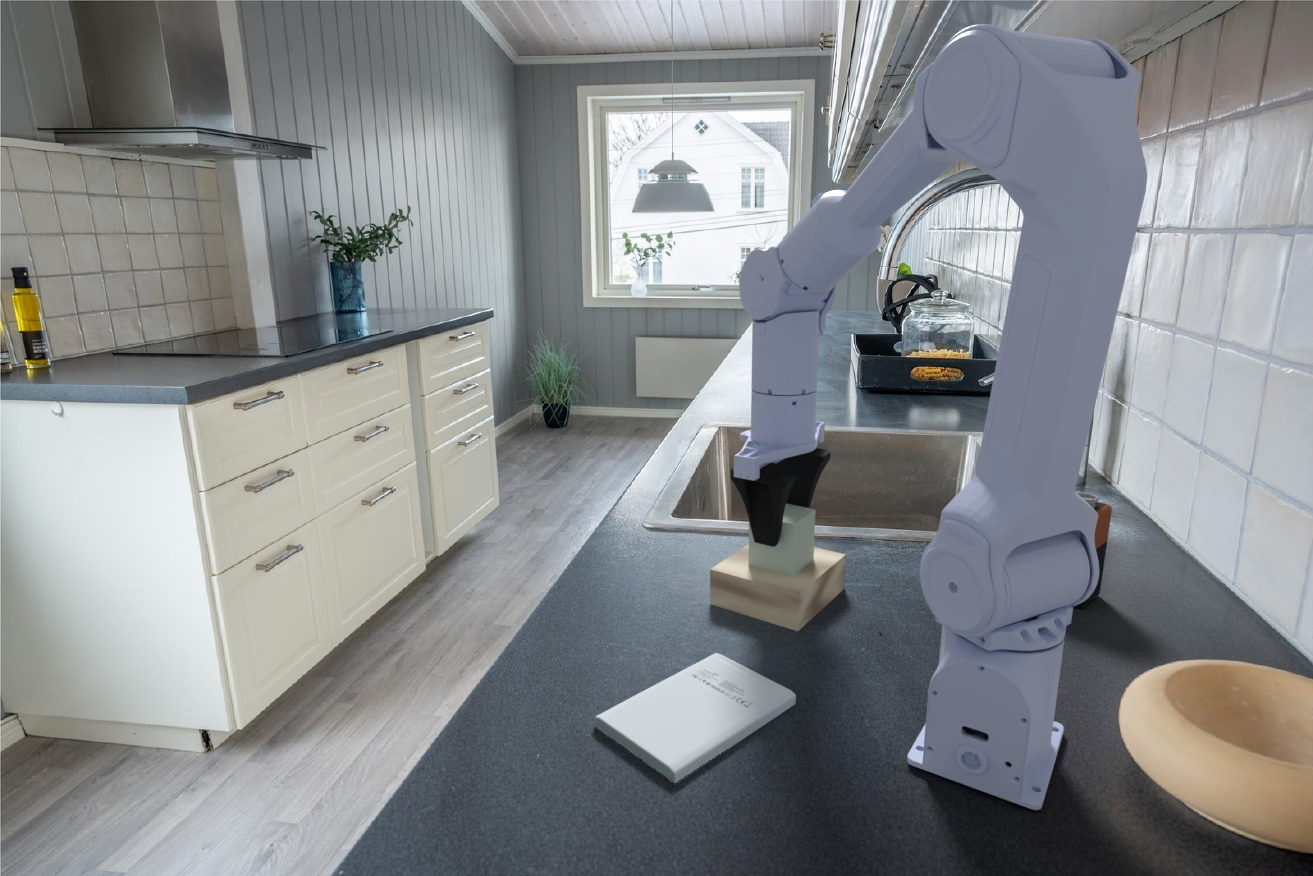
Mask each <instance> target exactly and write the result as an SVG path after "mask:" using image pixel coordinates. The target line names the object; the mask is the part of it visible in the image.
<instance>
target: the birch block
mask: <svg viewBox="0 0 1313 876" xmlns="http://www.w3.org/2000/svg"><path fill="white" fill-rule="evenodd" d="M846 556H847V554H845V553H842V552H837V551H833V550H828V549H824V548H820V547H816V546H814V559H813V560H812V561H811V562H810V563H808V564H807V565H806V566H805V567H804V568H802V569H801V570H800V571H799V572H797V573H796V574H795V575H794V576H793V577H792V576H789V575H785V574H781V573H777V572H773V571H769V570H765V569H761V568H758V567H754V566H750V565H748V561H749V543H748V544H747V545H744V547H742V548H740V549H739V550H737V551H736V552H734V553H733V554H731V555H730V556H729V557H727V558H725V559H723V560H722V561H720V562H719V563H717V564H716V565H714V566H713V567H711V568H710V571H709V576H710V577H709V600H710V601H709V604H710V605H712V606H716V607H719V608H721V609H724V610H727V611H731V612H735V613H738V614H740V615H743V616H747V617H751V618H754V619H757V620H760V621H764V622H767V623H769V624H773V625H777V626H779V627H783V628H785V629H790V630H793V631H795V632H799V631H800V630H801V629H802V628H804V626H806V625H807V624H808V623H809V622H810V621H811V620H812V619H813V618H814V617H815V616H817V615H818V614H819V613H820V612H821V611H822V610H823V609H824V608H825V607H827V605H829V604H830V603H831V602H832V601H833V600H834V599H835V598H836V597H837V596H838V595H840V593H842V592H843V591H844V590H845V582H846V581H845V580H846V579H845V578H846V562H847V561H846V560H847V557H846Z"/></svg>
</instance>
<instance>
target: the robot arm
mask: <svg viewBox="0 0 1313 876" xmlns="http://www.w3.org/2000/svg"><path fill="white" fill-rule="evenodd" d="M1141 80H1142V75H1141V73H1140V71H1138V70H1137V69H1136V68H1135V67H1134V66H1133V65H1132V64H1131V63H1130V62H1129V61H1128V60H1127V59H1126V58H1125V57H1123V56H1122V55H1121V54H1120V52H1118V50H1116V49H1115V48H1114V47H1113V46H1111V45H1110V44H1109V43H1108V42H1106V41H1103V40H1101V39H1097V38H1091V37H1078V38H1072V37H1064V36H1058V35H1057V36H1055V35H1049V34H1039V33H1033V32H1024V31H1017V30H1011V29H1005V28H1004V29H1003V28H1002V27H1001V26H998V25H994V24H989V23H979V24H973V25H970V26H968V27H965V28H963V29H961V30H959V32H957V33H955V34H954V35H953V36H952V37H951V38H950V39H948V41H947V42H946V43H945V44H944V46H943V47H942V48H941V49H940V51H939V52H938V53H937V55H936V57H935V59H934V61H933V62H932V63H930V65H928V66H927V67H925V68H924V70H922V72H921V73H919V75H918V76H917V78H916V81H915V84H914V92H913V100H912V101H913V102H912V108H911V109H910V111H908V113H907V114H906V116H904V118H903V119H902V121H901V122H900V123H898V126H897V127H896V128H895V129H894V131H893V132H892V134H891V135H890V136H889V137H888V138H887V140H885V142H884V143H883V144H882V145H881V146H880V149H879V150H878V151H877V152H876V153H875V155H874V156H873V157H872V158H871V159H870V161H869V162H868V163H867V165H866V166H865V168H864V169H863V170H862V171H861V172H860V173H859V174H858V176H857V177H856V179H855V180H854V181H853V182H852V184H851V185H850V186H849V187H848V189H847V190H846V189H845V190H844V189H833V190H829V191H828V192H820V193H818V194H817V195H816V196H815V197H814V198H813V200H811V207H810V209H808V211H807V212H806V213H805V214H804V215H803V216H802V217H801V219H800V220H799V221H798V222H797V223H796V224H795V225H794V226H793V227H792V228H791V229H790V230H789V231H788V232H787V233H785V235H784V236H783V237H782V239H781V240H780V242H779V243H778V244H777V245H775V246H769V248H768V249H767V248H756V249H754V250H752V251H750V252H749V254H748V256H747V258H746V259H745V260H744V262H743V264H742V267H741V270H740V275H739V281H738V285H739V287H738V291H739V296H740V301H741V305H742V307H743V309H744V311H745V312H746V314H747V315H748V316H749V317H750V318H751V319H752V320H751V321H752V324H751V325H752V326H751V327H752V332H751V333H752V337H751V341H752V342H751V387H750V388H751V400H750V402H751V403H750V429H748V430H745V431H743V432H740V433H739V441H740V442H742V443H743V442H744V445H743V446H742V447H741V450H740V451H739V452H737V453H736V454H734V455H733V466H731V467H730V480H731V481H732V483H733V484H734V486H735V487H736V489H737V491H738V493H739V495H740V498H741V499H742V501H743V504H744V507H745V510H746V514H747V517H748V518H747V519H748V523H749V522H750V526H751V530H752V534H753V538H754V542H755V543H759V544H763V545H768V546H772V547H775V546H776V545H777V544H778V542H779V539H780V535H781V529H782V522H783V515H784V509H785V505H786V504H791V505H796V506H801V507H806V508H811V505H812V501H813V496H814V493H815V490H816V487H817V485H818V482H819V480H820V478H821V475H822V474H823V472H824V470H825V468H826V466H827V464H829V461H830V460H831V451H830V450H828V449H824V448H819V447H818V444H821V443H823V442H825V425H826V424H825V422H824V421H817V393H818V366H819V365H818V364H819V343H820V342H819V341H820V340H819V339H820V338H821V337H822V336H823V335H824V331H826V322H827V321H826V320H827V316H828V312H829V310H830V309H831V307H832V305H833V303H834V301H835V297H836V292H837V285H838V284H839V283H840V282H841V281H842V280H844V279H845V278H846V277H847V276H848V275H849V274H850V273H852V272H853V271H854V270H855V269H856V268H857V267H858V266H859V265H860V264H861V263H863V262H864V260H865V259H867V258H869V256H870V255H871V254H872V253H874V252H875V251H876V250H877V249H878V247H879V245H880V242H881V239H882V224H883V223H884V222H885V221H886V220H888V219H889V218H890V217H892V216H893V215H894V214H895V213H896V212H897V211H899V210H900V209H901V208H902V207H904V206H905V205H906V204H908V203H909V202H910V201H911V200H912V199H913V198H915V197H916V196H917V195H918V194H920V193H921V192H922V191H924V190H925V189H926V188H928V186H930V185H931V184H932V183H933V182H935V180H937V179H938V178H940V177H941V175H943V174H944V173H946V171H948V170H949V169H951V168H952V167H953V166H954V165H956V164H957V163H959V162H967V163H968V164H970V165H972V166H974V167H976V168H977V169H978V170H981V171H982V172H984V173H986V174H987V175H989V176H991V177H993V178H994V179H995V181H997V182H998V183H999V185H1000V186H1001V188H1002V189H1003V190H1004V191H1005V192H1006V193H1007V194H1008V195H1009V197H1010V199H1012V201H1014V203H1015V204H1016V206H1017V207H1018V208H1019V209H1020V210H1021V212H1022V214H1023V216H1022V217H1023V219H1022V224H1021V230H1020V236H1019V241H1018V245H1017V251H1016V257H1015V261H1014V268H1013V272H1012V278H1011V283H1010V290H1009V294H1008V299H1007V306H1006V309H1005V315H1004V321H1003V326H1002V332H1001V336H1000V341H999V346H998V347H999V348H998V352H997V358H996V364H995V368H994V369H995V370H994V375H993V380H992V385H991V390H990V396H989V401H988V408H987V412H986V417H985V422H984V429H983V433H982V437H981V444H980V448H979V449H980V450H979V455H978V460H977V463H976V465H977V466H976V470H975V475H974V476H973V478H971V480H970V481H968V482H967V484H966V485H965V486H964V487H963V488H962V489H961V490H960V491H959V492H958V493H957V494H956V495H955V496H954V497H953V498H952V499H951V500H950V501H949V503H947V504H946V506H945V507H944V508H943V509H942V511H941V513H940V518H939V519H940V520H939V524H938V528H937V531H936V533H935V536H934V537H933V539H932V540H931V541H930V542H929V543H928V545H927V546H926V548H925V549H924V551H923V553H922V556H921V558H920V564H919V581H920V582H919V583H920V587H921V591H922V594H923V597H924V600H925V602H926V604H927V606H928V607H929V609H930V611H931V612H932V614H933V615H934V620H935V621H936V623H938V624H940V625H941V635H940V637H941V638H940V647H939V657H938V658H939V659H938V666H937V668H936V669H935V671H934V673H933V675H932V677H931V680H930V683H929V686H928V691H927V703H926V704H927V705H926V716H925V723H924V725H923V727H922V728H921V731H920V732H919V733H918V736H917V737H916V739H915V740H914V743H913V744H912V746H911V748H910V750H909V751H908V753H907V756H906V757H907V758H906V761H907V763H908V764H909V765H911V766H912V767H915V768H917V769H921V770H924V771H926V772H929V773H932V774H934V775H937V776H939V777H942V778H945V779H948V780H950V781H952V782H956V783H957V784H958V783H959V784H961V785H963V786H967V787H969V788H972V789H975V790H978V791H980V792H984V793H986V794H989V795H992V796H995V797H997V798H999V799H1003V800H1005V801H1007V802H1011V803H1014V804H1016V805H1019V806H1022V807H1025V808H1027V809H1030V810H1033V811H1039V810H1041V809H1042V807H1043V804H1044V801H1045V798H1046V794H1047V791H1048V787H1049V784H1050V782H1051V781H1050V780H1051V777H1052V774H1053V770H1054V766H1055V763H1056V759H1057V756H1058V752H1059V750H1060V746H1061V743H1062V739H1063V735H1064V732H1065V727H1064V725H1063V724H1062V723H1060V722H1058V721H1055V714H1056V705H1057V697H1058V691H1059V690H1058V689H1059V683H1060V674H1061V669H1062V660H1063V654H1064V653H1063V652H1064V646H1065V638H1066V637H1065V636H1066V632H1067V631H1066V630H1067V626H1069V625H1070V624H1072V617H1073V611H1074V607H1075V605H1078V604H1080V603H1082V602H1084V601H1085V600H1086V599H1088V598H1089V597H1090V596H1091V594H1092V593H1093V592H1094V590H1095V588H1096V586H1097V583H1098V579H1099V561H1098V557H1097V552H1096V548H1095V540H1094V539H1095V529H1096V524H1097V520H1098V513H1097V512H1096V511H1095V510H1094V509H1093V508H1092V507H1091V506H1090V505H1089V504H1088V503H1087V502H1086V501H1085V500H1084V499H1083V498H1082V497H1081V496H1080V495H1078V494H1077V493H1076V492H1077V491H1076V486H1077V483H1078V479H1079V474H1080V470H1081V468H1082V467H1081V466H1082V462H1083V458H1084V453H1085V450H1086V449H1085V448H1086V445H1087V441H1088V437H1089V432H1090V428H1091V424H1092V421H1093V420H1092V419H1093V416H1094V412H1095V407H1096V403H1097V399H1098V394H1099V391H1100V390H1099V389H1100V387H1101V386H1100V385H1101V382H1102V377H1103V374H1104V369H1105V365H1106V361H1107V357H1108V352H1109V348H1110V344H1111V339H1112V336H1113V332H1114V326H1115V322H1116V319H1117V314H1118V309H1119V306H1120V302H1121V299H1122V298H1121V297H1122V293H1123V289H1124V285H1125V281H1126V276H1127V271H1128V268H1129V264H1130V259H1131V255H1132V251H1133V246H1134V242H1135V238H1136V234H1137V229H1138V225H1139V221H1140V217H1141V213H1142V209H1143V204H1144V200H1145V196H1146V192H1147V184H1148V183H1147V182H1148V170H1147V165H1146V160H1145V157H1144V151H1143V147H1142V142H1141V138H1140V133H1139V129H1138V123H1137V119H1136V114H1135V111H1134V110H1135V106H1136V102H1137V97H1138V93H1139V89H1140V83H1141Z"/></svg>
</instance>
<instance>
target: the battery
mask: <svg viewBox="0 0 1313 876" xmlns="http://www.w3.org/2000/svg"><path fill="white" fill-rule="evenodd" d="M1075 492H1076V493H1077V494H1078V495H1080V496H1081V497H1082V498H1083V499H1084V500H1085V501H1086V502H1087V503H1088V504H1089V505H1090V506H1091V507H1092V508H1093V509H1094V510H1095V511H1096V512H1097V513H1098V520H1097V524H1096V529H1095V539H1094V540H1095V548H1096V552H1097V557H1098V561H1099V579H1098V583H1097V586H1096V588H1095V590H1094V592H1093V593H1092V594H1091V596H1090V597H1089V598H1088V599H1086V600H1085V601H1084V602H1082V603H1080V604H1078V605H1075V606H1074V607H1076V608H1079V609H1082V608H1085V607H1086V606H1087V605H1088V604H1089V603H1090V602H1092V601H1093V600H1094V599H1095V598H1096V597H1097V596H1099V595H1100V593H1101V587H1102V580H1103V574H1104V567H1105V560H1106V559H1105V558H1106V552H1107V546H1108V540H1109V539H1108V538H1109V534H1110V533H1109V531H1110V525H1111V519H1112V513H1113V512H1112V511H1113V508H1112V506H1111V504H1108V503H1104V502H1102V501H1099V499H1100V497H1099V496H1097V495H1094V494H1092V493H1089V492H1077V491H1075Z"/></svg>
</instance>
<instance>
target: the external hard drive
mask: <svg viewBox="0 0 1313 876" xmlns="http://www.w3.org/2000/svg"><path fill="white" fill-rule="evenodd" d="M796 701H797V694H795V692H794V691H793V690H791V689H789V688H788V687H785V686H783V685H781V684H779V683H778V682H776V681H773V680H771V679H770V678H768V677H766V676H764V675H762V674H760V673H758V672H756V671H754V670H752V669H751V668H748V667H746V666H745V665H743V664H740V663H739V662H737V661H734V660H733V659H731V658H728V657H727V656H725V655H723V654H721V653H718V652H714V653H713V654H711V655H709V656H707V657H706V658H704V659H702V660H700V661H698V662H696V663H694V664H691V665H690V666H688V667H686V668H684V669H682V670H680V671H678V672H676V673H675V674H673V675H671V676H670V677H667V678H665V679H663V680H661V681H659V682H658V683H655V684H654V685H652V686H650V687H648V688H646V689H645V690H643V691H641V692H638V693H637V694H635V695H633V696H631V697H629V698H627V699H626V700H624V701H622V702H620V703H618V704H616V705H614V706H612V707H610V708H609V709H606V710H605V711H603V712H601V713H599V714H597V715H595V717H593V718H594V725H595V724H596V725H598V727H600V728H602V730H604V732H607V733H608V734H609V735H610V736H611V737H613V738H614V739H616V740H617V741H618V742H620V743H622V744H623V745H625V746H626V747H628V748H629V749H631V751H634V752H635V753H636V754H637V755H639V756H640V757H641V758H643V759H644V760H646V762H648V763H649V764H651V765H653V767H655V768H656V769H658V770H660V772H662V774H664V775H666V777H668V778H670V780H672V781H674V783H676V782H678V780H680V779H682V778H684V776H686V775H688V774H690V773H692V771H694V770H695V769H697V768H699V767H700V766H701V765H703V764H705V763H707V762H708V761H709V760H711V761H712V759H713V758H714V759H716V758H717V757H718V756H717V755H719V754H720V755H722V754H723V753H725V752H726V751H727V749H728V750H729V749H730V748H732V747H733V746H735V745H737V744H738V743H740V742H741V741H742V740H744V739H745V738H747V737H748V736H749V735H751V734H753V733H754V732H756V731H758V729H760V728H762V727H763V726H765V725H766V724H768V723H769V722H771V721H773V720H774V719H776V718H777V717H778V716H779V715H781V714H782V713H784V712H786V711H787V710H788V709H790V708H791V707H793V706H795V705H796ZM724 751H725V752H724ZM722 752H723V753H722ZM721 753H722V754H721ZM720 755H719V756H720ZM716 756H717V757H716ZM715 757H716V758H715ZM714 759H713V760H714ZM708 763H709V762H708ZM708 763H707V764H708ZM705 765H706V764H705ZM699 769H700V768H699ZM692 774H693V773H692ZM690 775H691V774H690ZM684 779H685V778H684ZM678 783H679V782H678Z"/></svg>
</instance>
